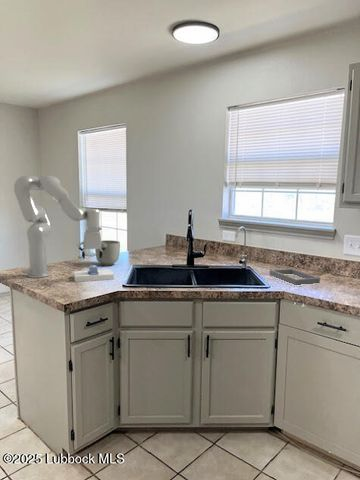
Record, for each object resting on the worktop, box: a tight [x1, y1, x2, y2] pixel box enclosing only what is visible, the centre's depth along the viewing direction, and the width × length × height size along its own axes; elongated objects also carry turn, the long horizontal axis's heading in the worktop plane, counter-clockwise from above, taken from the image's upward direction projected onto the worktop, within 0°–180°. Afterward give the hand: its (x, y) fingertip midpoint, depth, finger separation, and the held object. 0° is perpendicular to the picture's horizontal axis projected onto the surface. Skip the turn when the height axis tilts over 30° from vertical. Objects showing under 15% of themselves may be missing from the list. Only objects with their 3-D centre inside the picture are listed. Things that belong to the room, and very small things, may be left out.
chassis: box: [73, 269, 115, 283], centre depth 218 cm, size 22×13×3 cm, turn 110°
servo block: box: [88, 264, 98, 275], centre depth 218 cm, size 11×4×7 cm, turn 20°
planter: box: [94, 239, 121, 267], centre depth 254 cm, size 17×17×16 cm
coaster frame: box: [269, 268, 321, 285], centre depth 225 cm, size 17×26×4 cm, turn 20°
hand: (92, 258), depth 217 cm, fingers open, 9 cm apart
